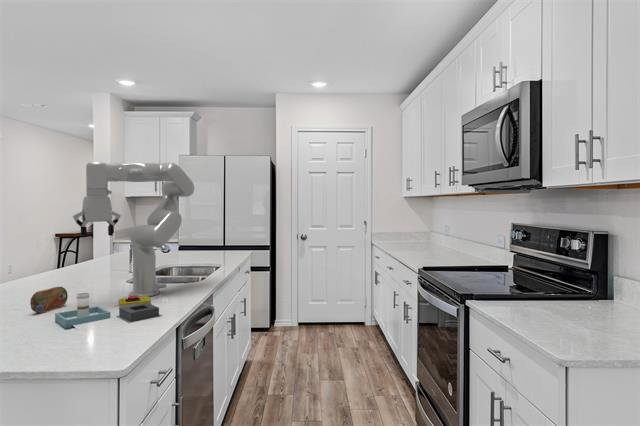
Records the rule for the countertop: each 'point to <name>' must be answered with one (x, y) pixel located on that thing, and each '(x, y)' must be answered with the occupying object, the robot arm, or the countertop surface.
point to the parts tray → (69, 323)
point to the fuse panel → (138, 312)
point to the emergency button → (133, 301)
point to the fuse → (82, 304)
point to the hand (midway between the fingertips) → (97, 236)
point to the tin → (49, 299)
